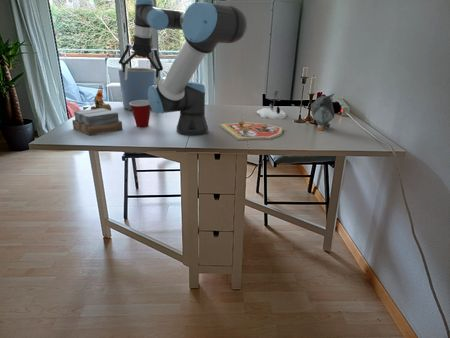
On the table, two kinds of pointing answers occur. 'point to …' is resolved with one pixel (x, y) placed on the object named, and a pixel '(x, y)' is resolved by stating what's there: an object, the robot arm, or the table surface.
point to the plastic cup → (141, 112)
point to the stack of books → (96, 121)
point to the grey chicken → (322, 111)
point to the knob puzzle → (251, 130)
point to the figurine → (272, 110)
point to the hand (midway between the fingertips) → (140, 81)
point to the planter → (136, 84)
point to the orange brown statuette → (100, 101)
